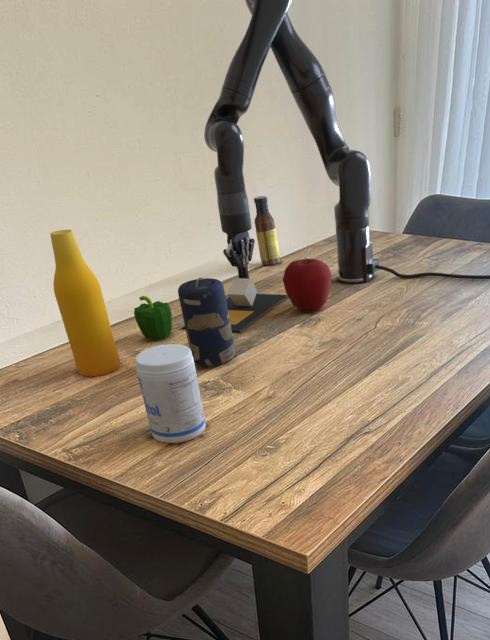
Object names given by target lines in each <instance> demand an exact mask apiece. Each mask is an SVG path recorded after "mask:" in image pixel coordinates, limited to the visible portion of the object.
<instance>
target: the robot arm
mask: <svg viewBox="0 0 490 640" xmlns="http://www.w3.org/2000/svg"><path fill="white" fill-rule="evenodd" d="M244 1H245V4H246V6H247V9H248V11H249V12H250V15H251V17H250V21H249V24H248V26H247V29H246V31H245V34H244V36H243V38H242V40H241V41H240V43H239V45H238V47H237V49H236V51H235V52H234V55H233V57H232V59H231V60H230V63H229V66H228V68H227V71H226V73H225V77H224V79H223V82H222V83H223V84H222V87H221V90H220V94H219V97H218V99H217V100H216V102H215V104H214V106H213V108H212V110H211V112H210V114H209V116H208V118H207V120H206V123H205V127H204V132H203V133H204V135H203V136H204V142H205V144H206V146H207V147H208V148H209V149H210V150H211V151H213V152H215V153H216V156H217V166H216V167H215V168H214V171H213V176H214V182H215V189H216V190H215V191H216V196H217V199H216V200H217V208H218V215H219V221H220V226H221V231H222V232H223V233H224V234H226V243H227V247H226V248H224V249H223V250H222V252H223V255H224V256H225V258H226V259H227V261H228V263H229V264H230V265H231V267H235V268H236V269H237V274H238V278H244V279H250V274H249V264H250V262H252V259H253V253H254V249H255V243H256V241H255V238H251V237H250V233H249V231H251V229H252V226H253V225H252V217H251V212H250V211H251V210H250V204H249V198H248V194H247V190H246V183H245V176H244V156H245V142H244V136H243V132H242V130H241V128H240V126H239V125H238V122H239V120H240V118H241V117H243V115H245V114H246V113H247V112H248V110H249V108H250V105H251V103H252V99H253V97H254V93H255V90H256V87H257V84H258V81H259V78H260V75H261V72H262V69H263V66H264V63H265V61H266V58H267V56H268V53H269V51H270V49H271V51H272V54H273V56H274V58H275V61H276V63H277V66H278V67H279V69H280V72H281V73H282V75H283V77H284V80H285V82H286V84H287V86H288V89H289V91H290V94H291V95H292V98H293V99H294V102H295V104H296V106H297V108H298V110H299V111H300V114H301V116H302V119H303V120H304V122H305V125H306V126H307V129H308V130H309V132H310V134H311V136H312V139H313V140H314V143H315V145H316V148H317V150H318V152H319V155H320V159H321V161H322V164H323V167H324V170H325V172H326V175H327V177H328V179H329V180H330V181H331V183H333V184H334V185H335V186H337V187H339V188H338V189H339V199H338V202H337V203H336V204H335V205H334V207H333V210H334V213H333V214H334V224H335V225H334V226H335V227H334V228H335V240H336V253H337V266H338V270H337V275H338V280H339V281H340V282H341V283H345V284H358V283H367V282H369V281H370V280H371V279H373V277H374V276H375V273H376V272H377V271H379V270H381V271H385V272H389V273H391V274H392V275H394V276H395V277H398V278H401V279H414V278H422V277H439V278H447V279H448V278H449V279H450V278H451V279H461V280H462V279H465V280H490V275H489V274H486V275H485V274H484V275H480V274H479V275H478V274H474V275H473V274H453V273H444V272H421V273H413V274H404V273H403V274H402V273H399V272H398V271H396V270H394V269H392V268H390V267H387V266H383V265H380V264H379V263H380V262H379V261H380V259H379V258H374V249H373V248H374V247H373V246H374V245H373V242H372V241H371V237H370V236H371V235H370V216H369V207H370V204H371V198H372V195H371V194H372V186H371V185H372V180H371V177H372V176H371V174H372V173H371V166H370V165H371V164H370V161H369V159H368V157H367V156H366V154H364V153H363V152H362V151H360V150H355V149H350V147H349V146H348V144H347V142H346V141H345V139H344V136H343V134H342V132H341V130H340V127H339V124H338V121H337V113H336V112H337V111H336V101H335V96H334V92H333V90H332V86H331V84H330V82H329V80H328V77H327V75H326V73H325V70H324V68H323V65H322V64H321V62H320V60H319V59H317V57H316V55H315V54H314V53H313V51H311V49H310V48H309V47H308V46H307V44H306V43H305V42H304V41H303V40H302V38H301V37H300V36H299V34H298V33H297V31H296V29H295V28H294V26H293V24H292V23H293V22H292V21H291V18H290V16H289V14H288V12H289V9H290V7H291V5H292V3H293V0H244Z"/></svg>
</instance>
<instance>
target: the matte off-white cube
mask: <svg viewBox="0 0 490 640" xmlns="http://www.w3.org/2000/svg"><path fill="white" fill-rule="evenodd" d="M256 294H258V289H257V287H256V286H255V284H254V283H253V281H252V280H251V278H249V279H244V278H239V277H233V278H232V281H231V283H230V286H229V289H228V292H227V295H228V298H229V297H230V298H231V300H232V301H233V303H234V304H235V306H252V305H253V302H254V299H255V296H256Z"/></svg>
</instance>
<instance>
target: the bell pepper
mask: <svg viewBox="0 0 490 640" xmlns="http://www.w3.org/2000/svg"><path fill="white" fill-rule="evenodd" d="M138 300H140V302H142V301H146V303H140V305H139V306H136V307H134V310H133V315H134V319H135V322H136V324H137V326H138V328H139V330H140V332H141V334H142V336H144V337H145V338H146V339H149V340H151V341H161V340H164V339H166V338H167V337H169V335H171V333H172V331H173V330H172V329H173V313H172V307H171V305H170V304H169V303H168V302H162V301H160V300H157V301H155V302H153V301H152V300H151V298H149V297H148V296H145V295H142V296H139V298H138Z"/></svg>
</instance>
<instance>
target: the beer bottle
mask: <svg viewBox="0 0 490 640" xmlns="http://www.w3.org/2000/svg"><path fill="white" fill-rule="evenodd" d="M49 236H50V241H51V246H52V251H53V257H54V263H55V269H54V276H53V294H54V297H55V300H56V304H57V306H58V309H59V313H60V316H61V320H62V322H63V326H64V329H65V334H66V336H67V339H68V342H69V346H70V349H71V353H72V356H73V361H74V363H75V366H76V369H77V371H78V373H79V374H80V376H83V377H100V376H104V375H108V374H111V373H113V372H115V371H116V370H118V369H119V367H120V365H121V360H120V358H121V357H120V355H119V352H118V351H119V350H118V349H117V345H116V342H115V337H114V334H113V329H112V325H111V322H110V318H109V314H108V311H107V307H106V302H105V299H104V295H103V292H102V288H101V285H100V283H99V280H98V278H97V276H96V275H95V273H94V272H93V271H92V269H91V268H90V267H89V266H88V264H87V262H85V260H84V257H83V255H82V253H81V250H80V248H79V245H78V242H77V239H76V237H75V234H74V232H73V230H72V229H61V230H60V229H59V230H55V231H52V232H50V235H49Z"/></svg>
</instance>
